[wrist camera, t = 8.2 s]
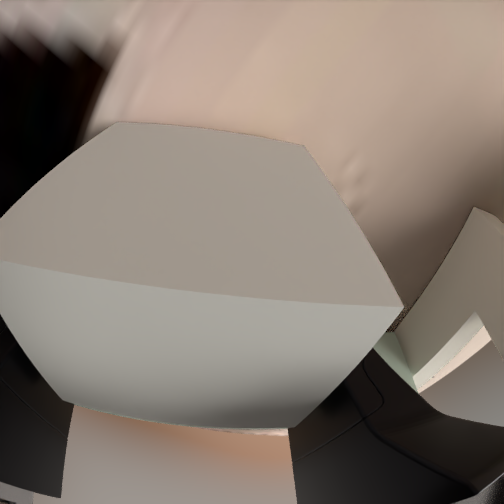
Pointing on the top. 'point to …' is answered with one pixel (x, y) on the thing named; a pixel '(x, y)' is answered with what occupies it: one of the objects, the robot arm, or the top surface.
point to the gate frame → (458, 300)
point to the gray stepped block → (191, 278)
